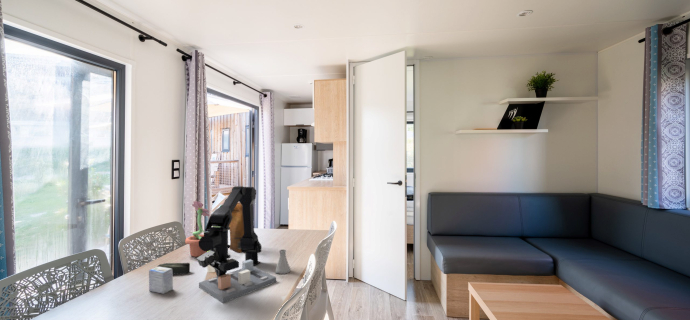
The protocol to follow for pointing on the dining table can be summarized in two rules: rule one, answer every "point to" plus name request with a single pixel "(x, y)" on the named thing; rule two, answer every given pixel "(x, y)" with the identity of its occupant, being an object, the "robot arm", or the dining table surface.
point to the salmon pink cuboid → (224, 281)
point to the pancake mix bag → (236, 228)
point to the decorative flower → (194, 239)
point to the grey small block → (247, 265)
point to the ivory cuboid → (244, 277)
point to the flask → (282, 263)
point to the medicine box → (160, 279)
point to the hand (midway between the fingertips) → (220, 281)
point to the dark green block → (177, 267)
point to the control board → (237, 285)
